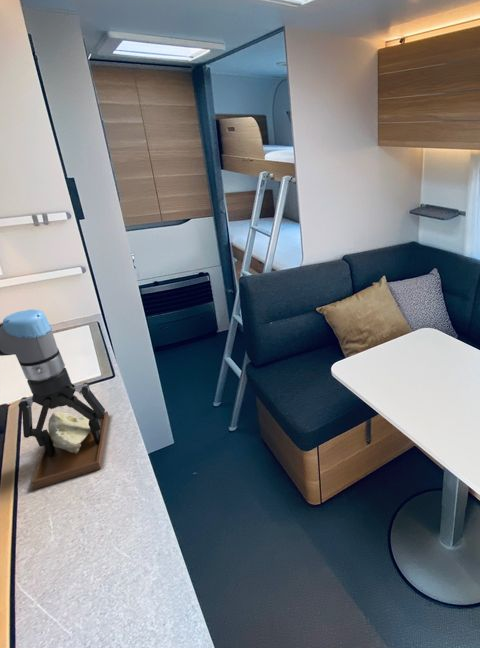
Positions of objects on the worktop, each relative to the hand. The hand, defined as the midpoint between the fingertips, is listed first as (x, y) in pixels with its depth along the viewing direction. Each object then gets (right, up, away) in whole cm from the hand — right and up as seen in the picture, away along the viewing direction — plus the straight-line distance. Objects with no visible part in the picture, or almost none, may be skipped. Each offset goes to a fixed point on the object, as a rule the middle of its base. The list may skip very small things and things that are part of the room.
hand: (75, 446), depth 105 cm
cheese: (+1, 0, +1) cm, 1 cm away
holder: (0, -1, 0) cm, 1 cm away
